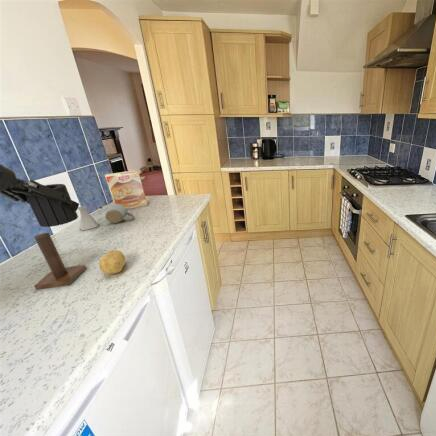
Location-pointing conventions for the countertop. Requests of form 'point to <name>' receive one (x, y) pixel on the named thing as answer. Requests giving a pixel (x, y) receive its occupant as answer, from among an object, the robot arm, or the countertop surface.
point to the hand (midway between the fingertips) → (62, 207)
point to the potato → (112, 262)
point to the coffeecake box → (126, 189)
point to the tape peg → (55, 265)
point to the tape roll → (51, 209)
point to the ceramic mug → (118, 213)
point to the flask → (86, 219)
